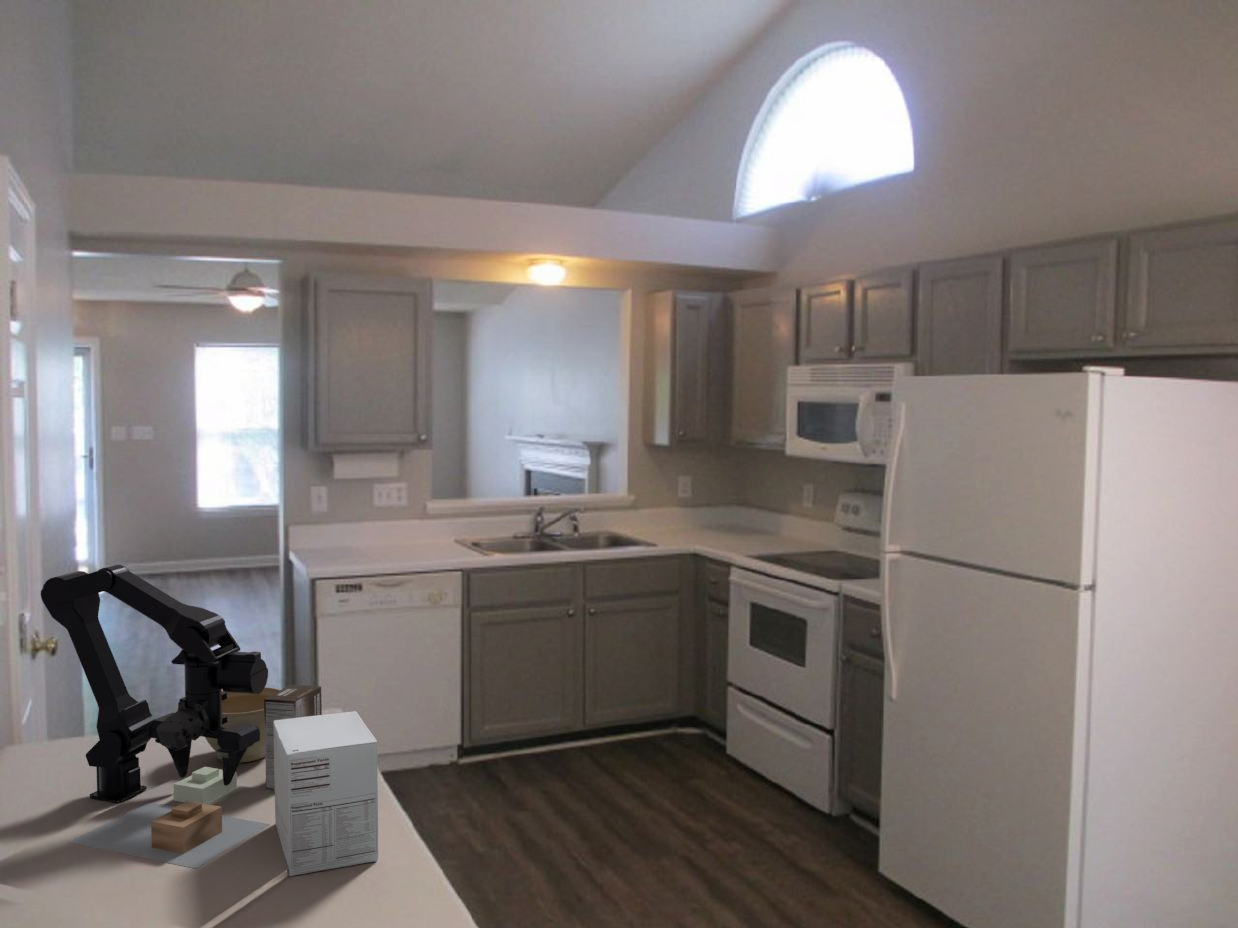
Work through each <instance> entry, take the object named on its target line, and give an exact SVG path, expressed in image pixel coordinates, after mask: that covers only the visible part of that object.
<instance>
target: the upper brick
mask: <svg viewBox="0 0 1238 928" xmlns="http://www.w3.org/2000/svg"><path fill="white" fill-rule="evenodd" d="M237 776H238V774H237V771H236V772H235V774H234V776H233V778H232V781H231V783H230V784H229V785H227V786H225V785H224V782H223V769H221V768H220V769H219V768H215V767H210V766H203V767H201V768H199V769H197V770H195V771H192V772H191V775H190V776H188V777H187V776H186V777H184V778H182V779H181V780H179V781H177V782H174V783H173V801H174V802H180V803H184V802H185V801H188V802H190V801H192V802H198V803H203V804H209V803H211V802H214V801H215V800H217V799H219V798H221V797H222V796H225V795H227V794H228V793H230V792H233V791H234V790H237V789H238V784H237V783H238V778H237Z"/></svg>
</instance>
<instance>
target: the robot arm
mask: <svg viewBox="0 0 1238 928" xmlns="http://www.w3.org/2000/svg"><path fill="white" fill-rule="evenodd" d="M103 592H105V593H108V594H109V595H111V596H112V597H114V598H116V599H117V600H119V601H120V602H121V603H124V604H125V605H127V606H129V607H130V608H132V609H133V610H135V611H137V612H138V613H140V614H141V615H143V616H145V617H147V618H148V619H150V620H151V621H153V622H155V623H157V624H158V625H160V626H161V627H162V628H163V629H164V630H165V632H166V633H167V635H168V637H169V639H170V640H171V641H172V642H173V643H174V644H175V645H176V646H178V647H179V648H180V649H181V650H180V652H179V653H178V654H177V656H175V657H174V658H172V660H171V664H173V665H182V666H184V669H183V670H184V697H181V698H179V701H178V704H177V706H178V707H177V710H176V711H175V712H170V713H167V714H165V715H162V716H160V717H157V718H155V717H154V716H153V713H151V710H150V708H149V707H150V706H149V703H148V700H146V699H143V700H141V701H138V700H136V699H134V697H132V696H131V695H130V694H129V691H128V689H127V686H126V684H125V682H124V679H123V676H122V673H121V672H120V669H119V667H118V664H117V662H116V659H115V657H114V654H113V652H112V650H111V647H110V645H109V642H108V639H107V637H106V635H105V632H104V630H103V628H102V625H101V622H100V620H99V614H100V613H99V612H100V604H101V599H100V598H101V597H100V594H99V593H103ZM40 598H41V601H42V603H43V605H44V606H45V608H46V610H47V611H48V613H49V615H50V616H51V618H52V619H53V620H54V621H55V622H57V623H59V624H60V625H61V627H63V628H65V630H66V631H67V633H68V635H69V637H70V640H71V642H72V644H73V647H74V650H75V653H76V655H77V657H78V660H79V662H80V665H81V667H82V670H83V671H84V675H85V677H86V679H87V682H88V684H89V687H90V690H91V692H92V694H93V697H94V700H95V702H96V704H97V707H98V712H97V713H98V714H97V720H96V731H97V732H96V733H97V735H98V739H99V740H98V741H97V742H96V743H95V744H94V745H93V746H92V747H91V748H90V749H89V750H88V751H87V752H86V753H85V757H86V761H87V764H88V766H89V767H92V768H93V767H95V768H96V790H95V791H94V792H91V793H89V798H92V799H96V800H103V801H106V802H111V803H120V802H123V801H124V800H127V799H129V798H131V797H133V796H135V795H137V794H139V793H141V792H144V791H146V790H147V789H148V788H147V785H142V783H141V779H142V778H141V767H140V762H139V761H140V758H139V756H137V755H138V754H141V753H142V752H144V751H146V747H147V744H148V743H149V742H150V740H151V739H154V741H155V743H157V744H160V745H161V746H162V747H165V748H166V749H167V751H168V753H169V755H170V757H171V759H172V761H173V763H174V766H175V769H176V771H177V773H178V776H179V778H181V779H185V778H187V775H188V770H189V767H190V766H189V764H190V758H191V757H190V755H191V749H192V741H197V740H198V739H199V738H200V737H203V738H205V737H209V738H215V739H217V744H218V745H219V747H220V748H221V749H218V750H217V752H218V753H219V754H220V755H221V756H222V761H221V763H222V764H221V765H222V766H221V767H222V770H223V782H224V785H225V786H227V785H229V784H230V783H231V781H232V778H233V776H234V774H235V772H237V769H238V768H239V765H240V763H241V762H240V761H241V759H242V757H243V755H244V753H245V752H246V750H247V748H248V747H250V746H252V745H253V744H254V743H256V742H258V741H260V729H259V728H258V727H257V726H256V725H254V724H247V723H240V722H239V723H237V724H234V725H232V726H230V727H228V728H224V727H222V725H223V724H225V723H227V722H228V721H227V716H222V700H225V699H227V693H225V692H233V693H249V694H259V693H261V692H262V691H263V689H264V688H265V687H266V685H267V682H268V678H269V668H268V666H267V664H266V662H265V660H264V659H262V653H261V652H260V651H249V652H248V651H241V647H240V645H239V643H238V642H237V641H236V640H235V638H234V637H233V636H232V634H231V632H230V631H229V630H228V628H227V625H226V620H225V619H224V617H222V616H221V615H220V614H218V613H216V612H213V611H211V610H208V609H206V608H204V607H198V606H193V605H189V604H186V603H183V602H181V601H179V600H178V599H176V598H174V597H172V596H171V595H169V594H167V593H165V592H164V591H163V590H161V589H159V588H157V587H156V586H154V585H152V584H151V583H149V582H148V581H146V580H144V578H143V579H142V578H141V577H140V576H138V575H136V574H134V573H133V572H132V571H130V569H128V567H126V565H125V566H124V565H122V564H113V565H109V566H106V567H101V568H99V569H98V570H95V571H93V572H89V573H88V572H86V571H81V570H78V571H74V572H70V573H66V574H62V575H58V576H54V577H50V578H48V579H47V580H46V581H45V582H44V584H43V585H42V589H41V590H40ZM216 646H219V647H217V648H214V647H216ZM212 648H214V649H213V650H212ZM222 690H223V691H224V692H222Z"/></svg>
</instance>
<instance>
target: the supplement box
mask: <svg viewBox="0 0 1238 928" xmlns="http://www.w3.org/2000/svg"><path fill="white" fill-rule="evenodd" d="M273 727H274V780H275V789H274V813H275V814H274V818H275V820H274V823H275V826H276V830H277V834H278V837H279V840H280V844H281V847H282V851H283V854H284V858H285V861H286V865H287V869H286V870H287V874H288V877H292V876H297V875H304V874H310V873H314V872H320V871H321V872H322V871H327V870H328V871H329V870H333V869H340V868H345V867H351V866H356V865H361V864H367V863H368V864H369V863H373V862H377V861H378V860H379V795H378V794H379V790H378V789H379V785H378V781H379V780H378V776H379V775H378V774H379V773H378V771H379V770H378V768H379V767H378V766H379V765H378V747H379V746H378V741H377V739H376V738H375V736H374V734H373V733H372V732H371V731H370V729H369V728H368V726H367V725H366V723H365V722H364V720H363V719H362V718H361V716H360V715H359V714H358V712H357V711H355V710H354V711H346V712H338V713H337V712H335V713H329V714H327V713H326V714H322V715H317V716H308V717H299V718H291V719H282V720H274V721H273Z"/></svg>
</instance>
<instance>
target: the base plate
mask: <svg viewBox="0 0 1238 928" xmlns="http://www.w3.org/2000/svg"><path fill="white" fill-rule="evenodd" d="M174 807H175V806H174V805H169V804H162V803H157V802H151V801H150V802H148V803H146V804H144V805H142V806H140V807H137V808H135V809H133V810H132V811H129V812H126V813H125V814H124V815H123V814H122V815H121V816H119V817H117V818H115V819H113V820H110V821H109V822H106V823H105V824H103V825H100V826H99V827H96V828H94V829H93V830H91V831H88V832H86V833H84V834H82V835H79V836H78V837H76V838H73V839H71V840H70V841H68V843H70V844H75V845H81V846H85V847H88V848H89V847H90V848H93V849H99V850H103V851H108V852H109V851H110V852H112V853H113V852H114V853H119V854H122V855H128V856H133V857H137V858H142V859H147V860H151V861H157V862H162V863H166V864H172V865H175V866H179V867H186V868H188V869H189V868H190V869H194V870H197V869H198V868H201V867H202V866H204V865H205V864H207V863H209V862H210V861H211V860H213V859H215V858H217V857H219V856H220V855H222V854H224V853H225V852H227V851H229V850H230V849H232V848H234V847H235V846H237V845H238V844H240V843H242V842H244V841H245V840H247V839H249V838H251V837H253V836H254V835H255V834H257V833H259V832H260V831H262V830H264V829H266V828H267V827H269V826H270V825H271V823H270V824H269V823H265V822H260V821H254V820H249V819H243V818H238V817H232V816H227V815H223V814H222V833H220V834H218V835H216V836H215V837H213V838H211V839H209V840H208V841H206V842H204V843H202V844H200V845H199V846H197V847H195V848H193V849H192V850H190V851H188V852H186V853H185V854H181V853H176V852H171V851H167V850H162V849H157V848H152V840H151V821H153V820H155V819H157V818H159V817H161V816H163V815H164V814H166V813H168V812H170V811H172V808H174Z"/></svg>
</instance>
